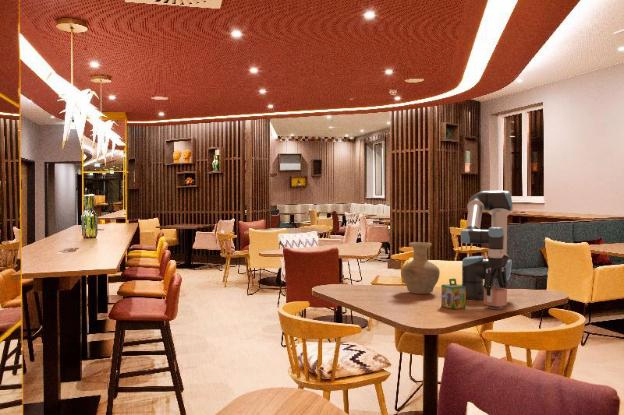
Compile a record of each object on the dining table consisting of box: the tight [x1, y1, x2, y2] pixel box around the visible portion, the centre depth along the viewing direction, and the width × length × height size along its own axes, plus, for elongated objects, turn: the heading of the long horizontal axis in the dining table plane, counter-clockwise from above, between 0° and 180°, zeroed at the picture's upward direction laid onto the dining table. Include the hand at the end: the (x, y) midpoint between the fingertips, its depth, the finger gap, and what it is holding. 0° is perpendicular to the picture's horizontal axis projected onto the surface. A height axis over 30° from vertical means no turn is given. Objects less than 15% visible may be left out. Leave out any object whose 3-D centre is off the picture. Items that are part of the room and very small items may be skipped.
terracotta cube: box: [483, 286, 508, 307], centre depth 274 cm, size 8×8×8 cm
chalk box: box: [440, 278, 467, 310], centre depth 276 cm, size 9×9×15 cm
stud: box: [487, 305, 503, 311], centre depth 274 cm, size 7×7×8 cm
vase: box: [400, 241, 441, 295], centre depth 315 cm, size 22×22×30 cm
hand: (495, 301), depth 274 cm, fingers closed on terracotta cube, 8 cm apart
